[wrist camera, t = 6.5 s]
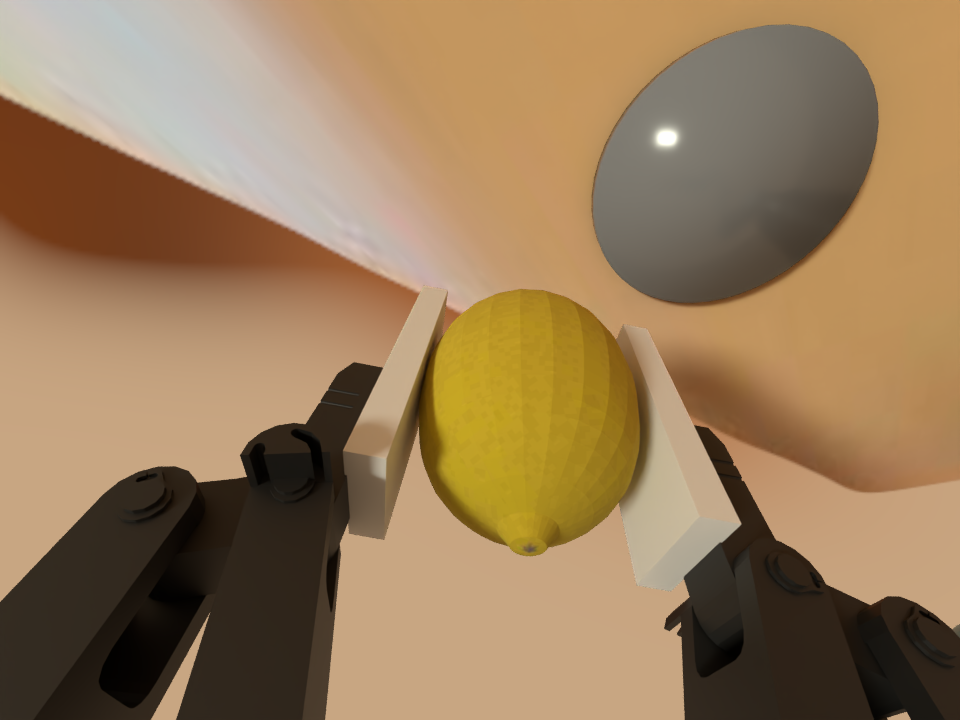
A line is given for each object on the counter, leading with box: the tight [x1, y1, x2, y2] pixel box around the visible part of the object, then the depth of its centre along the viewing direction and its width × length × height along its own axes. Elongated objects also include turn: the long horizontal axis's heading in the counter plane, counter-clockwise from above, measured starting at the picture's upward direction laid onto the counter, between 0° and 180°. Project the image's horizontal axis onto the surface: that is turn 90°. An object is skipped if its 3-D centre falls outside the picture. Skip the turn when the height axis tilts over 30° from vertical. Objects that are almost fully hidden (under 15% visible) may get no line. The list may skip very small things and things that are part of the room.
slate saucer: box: [592, 25, 878, 303], centre depth 22 cm, size 14×14×1 cm
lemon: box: [419, 289, 640, 556], centre depth 10 cm, size 6×6×8 cm
